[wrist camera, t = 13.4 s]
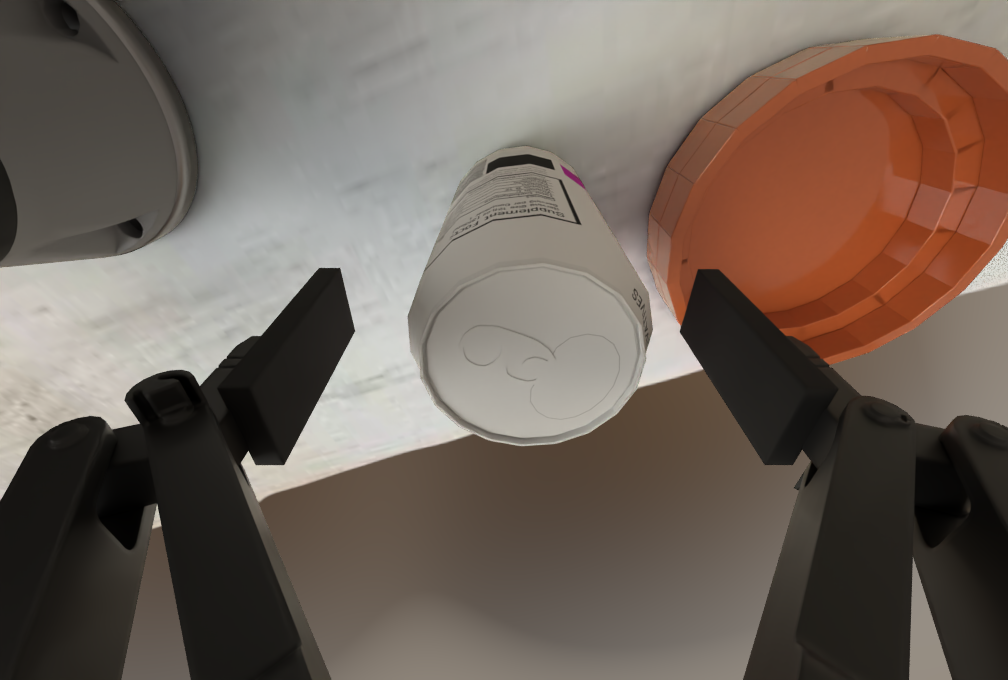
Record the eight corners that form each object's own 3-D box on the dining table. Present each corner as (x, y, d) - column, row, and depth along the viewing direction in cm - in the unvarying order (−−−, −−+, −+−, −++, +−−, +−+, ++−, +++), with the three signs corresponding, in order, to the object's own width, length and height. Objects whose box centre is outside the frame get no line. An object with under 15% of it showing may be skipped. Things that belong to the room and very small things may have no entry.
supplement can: (613, 180, 24) (726, 307, 12) (549, 296, 28) (581, 481, 16) (483, 117, 22) (451, 187, 10) (435, 251, 27) (370, 418, 14)
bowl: (609, 312, 29) (624, 349, 25) (723, 5, 20) (773, -8, 16) (831, 349, 31) (876, 389, 27) (1034, 81, 21) (1147, 85, 18)
